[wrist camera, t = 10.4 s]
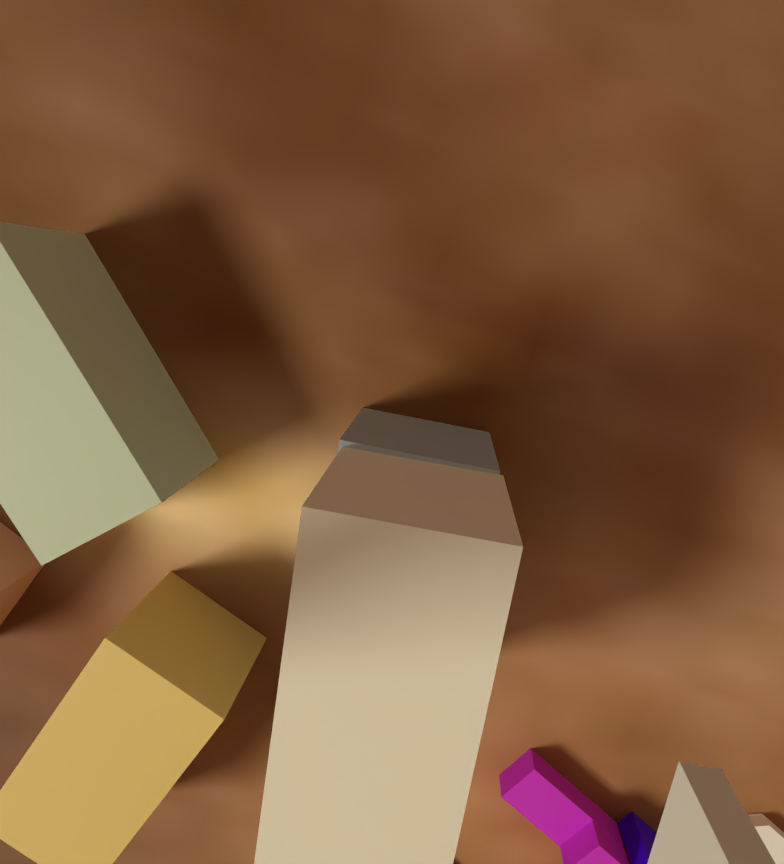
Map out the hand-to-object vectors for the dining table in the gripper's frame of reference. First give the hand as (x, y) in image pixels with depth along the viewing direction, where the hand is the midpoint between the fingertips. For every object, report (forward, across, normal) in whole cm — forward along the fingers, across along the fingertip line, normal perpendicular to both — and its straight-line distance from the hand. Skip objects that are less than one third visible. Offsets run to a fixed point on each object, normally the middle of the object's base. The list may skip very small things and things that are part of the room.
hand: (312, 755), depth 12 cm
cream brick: (+7, +1, -1) cm, 7 cm away
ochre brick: (+12, -8, -8) cm, 17 cm away
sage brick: (+12, -10, +4) cm, 17 cm away
